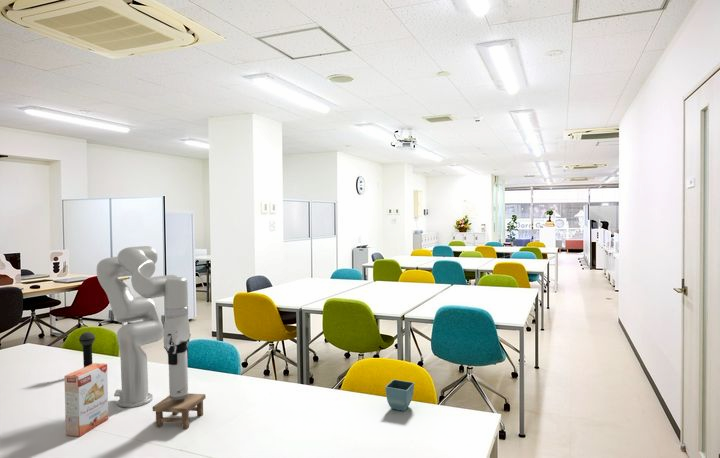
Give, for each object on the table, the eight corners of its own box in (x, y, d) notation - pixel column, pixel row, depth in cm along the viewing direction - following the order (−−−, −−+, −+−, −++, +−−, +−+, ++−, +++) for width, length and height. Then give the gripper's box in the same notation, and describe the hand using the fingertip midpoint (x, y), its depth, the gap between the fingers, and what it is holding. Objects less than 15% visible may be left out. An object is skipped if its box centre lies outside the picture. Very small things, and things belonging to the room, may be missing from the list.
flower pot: (415, 405, 177) (414, 382, 177) (407, 414, 169) (407, 390, 169) (393, 401, 181) (393, 379, 181) (385, 410, 173) (384, 387, 173)
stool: (153, 428, 162) (152, 406, 162) (174, 412, 175) (173, 392, 174) (187, 430, 160) (186, 408, 160) (206, 414, 173) (205, 394, 172)
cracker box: (80, 437, 156) (78, 376, 155) (65, 436, 157) (62, 375, 156) (110, 419, 170) (108, 362, 169) (95, 418, 171) (93, 362, 170)
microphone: (77, 375, 217) (75, 333, 217) (88, 370, 224) (87, 330, 223) (87, 376, 216) (86, 334, 215) (99, 372, 222) (98, 330, 221)
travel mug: (182, 400, 163) (181, 344, 163) (166, 399, 165) (164, 344, 164) (192, 393, 169) (191, 340, 169) (176, 392, 171) (174, 339, 170)
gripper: (180, 306, 175) (181, 353, 176) (152, 317, 158) (154, 369, 159) (198, 307, 174) (200, 354, 175) (173, 317, 157) (174, 370, 157)
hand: (178, 360), depth 167 cm, fingers closed on travel mug, 6 cm apart
